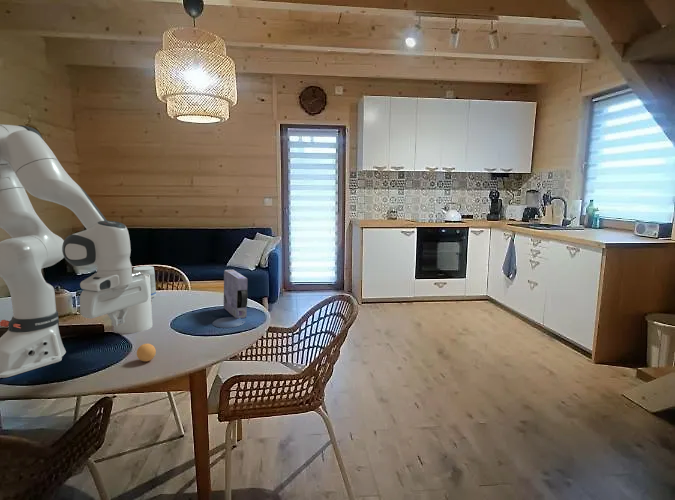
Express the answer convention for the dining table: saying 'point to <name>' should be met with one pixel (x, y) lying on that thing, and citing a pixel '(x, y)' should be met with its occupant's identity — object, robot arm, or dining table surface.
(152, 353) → the ball
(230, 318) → the disc
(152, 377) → the dining table surface
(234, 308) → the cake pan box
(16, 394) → the dining table surface
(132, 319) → the canister
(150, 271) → the supplement tub
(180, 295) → the dining table surface
